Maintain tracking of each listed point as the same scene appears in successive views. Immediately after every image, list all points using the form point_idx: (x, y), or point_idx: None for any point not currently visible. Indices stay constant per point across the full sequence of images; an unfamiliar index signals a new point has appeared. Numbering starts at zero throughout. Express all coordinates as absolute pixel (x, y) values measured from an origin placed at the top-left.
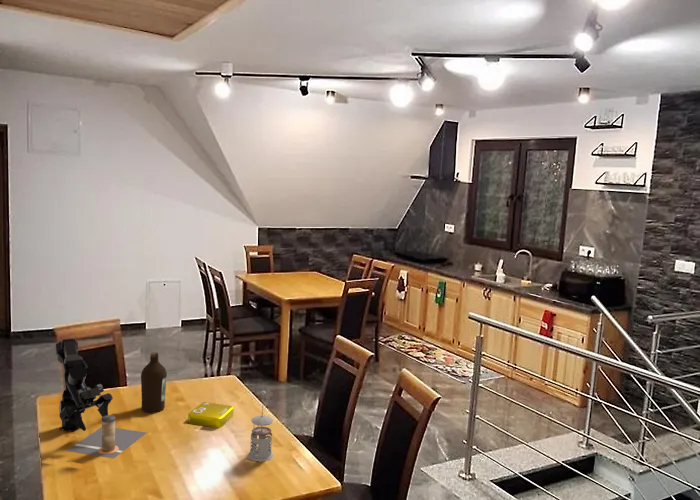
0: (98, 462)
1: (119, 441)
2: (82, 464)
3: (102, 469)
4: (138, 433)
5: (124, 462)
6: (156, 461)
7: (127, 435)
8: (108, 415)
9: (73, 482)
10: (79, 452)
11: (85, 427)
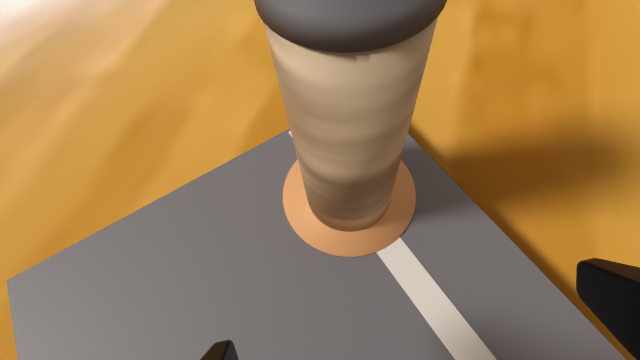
0: (431, 143)
1: (229, 265)
2: (519, 169)
3: (435, 75)
4: (50, 307)
5: None
6: (217, 28)
7: (123, 330)
8: (313, 4)
9: (582, 44)
10: (537, 272)
11: (605, 267)
